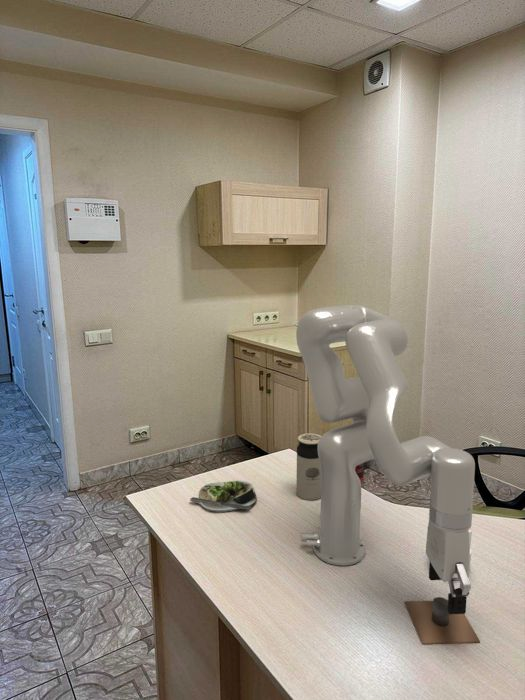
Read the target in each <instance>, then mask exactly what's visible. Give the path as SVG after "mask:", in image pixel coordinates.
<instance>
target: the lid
mask: <svg viewBox="0 0 525 700" xmlns="http://www.w3.org/2000/svg"><path fill="white" fill-rule="evenodd" d="M403 603H404V606H405V608H406V611H407V612H408V615H409V617H410V620H411V621H412V622H411V623H412V624H413V627H414V629H415V631H416V634H417V635H418V638H419V641H420V643H421V645H422V646H426V645H430V646H431V645H432V646H433V645H464V644H466V645H467V644H468V645H469V644H481V641H480V639H479V637H478V635H477V634H476V632H475V630H474V629H473V627H472V625H471V623H470V622H469V620H468V618H467V616H466V615H465V614H449V613H448V611H447V610H448V599H446V598H444V597H441V596H438V597H434V598H433V600H404V601H403Z"/></svg>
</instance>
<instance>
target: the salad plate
mask: <svg viewBox="0 0 525 700" xmlns="http://www.w3.org/2000/svg"><path fill="white" fill-rule="evenodd" d="M198 494H199V497H194V496H193V497H190V499H189V501H190V502H192V503H196V504H199V505H201V507H202V508H204V509H206V510H208V511H211V512H217V513H222V512H223V513H225V512H239V511H246V510H250V509H252V507H253V506H254V505H255V504H256V503H257V501H258V498H257V494H256V491H255V488H254V486H253V484H252V483H251V482H248V481H247V480H229V481H222V482H220V481H219V482H210V483H207V484H205V485H203V486H202V487H201V488H200V489H199V493H198Z"/></svg>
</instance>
